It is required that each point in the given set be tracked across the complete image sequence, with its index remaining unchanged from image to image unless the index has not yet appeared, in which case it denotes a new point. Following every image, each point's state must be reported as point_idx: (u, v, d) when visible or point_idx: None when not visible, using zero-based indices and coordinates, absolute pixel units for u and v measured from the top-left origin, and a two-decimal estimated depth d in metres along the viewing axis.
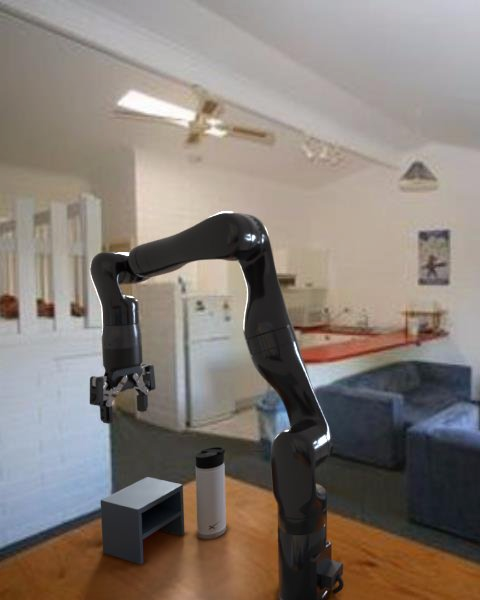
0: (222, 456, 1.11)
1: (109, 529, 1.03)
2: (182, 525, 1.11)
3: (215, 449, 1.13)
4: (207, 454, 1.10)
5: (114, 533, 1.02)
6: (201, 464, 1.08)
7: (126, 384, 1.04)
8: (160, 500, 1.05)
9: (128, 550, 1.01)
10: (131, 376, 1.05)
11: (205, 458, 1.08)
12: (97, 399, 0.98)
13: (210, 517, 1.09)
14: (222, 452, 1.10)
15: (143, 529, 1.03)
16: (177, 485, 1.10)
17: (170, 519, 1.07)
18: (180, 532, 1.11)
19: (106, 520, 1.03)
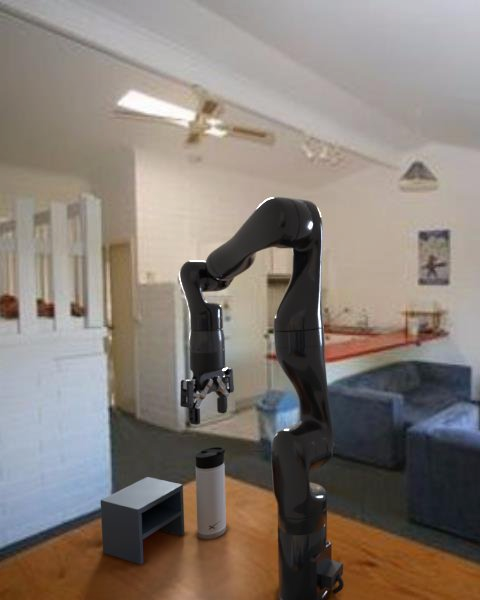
0: (222, 456, 1.11)
1: (109, 529, 1.03)
2: (182, 525, 1.11)
3: (215, 449, 1.13)
4: (207, 454, 1.10)
5: (114, 533, 1.02)
6: (201, 464, 1.08)
7: (210, 387, 1.08)
8: (160, 500, 1.05)
9: (128, 550, 1.01)
10: (215, 379, 1.09)
11: (205, 458, 1.08)
12: (188, 401, 1.02)
13: (210, 517, 1.09)
14: (222, 452, 1.10)
15: (143, 529, 1.03)
16: (177, 485, 1.10)
17: (170, 519, 1.07)
18: (180, 532, 1.11)
19: (106, 520, 1.03)
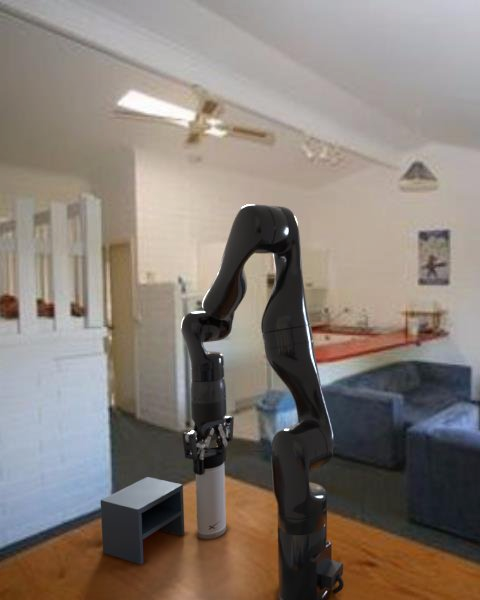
0: (222, 456, 1.11)
1: (109, 529, 1.03)
2: (182, 525, 1.11)
3: (215, 449, 1.13)
4: (207, 454, 1.10)
5: (114, 533, 1.02)
6: None
7: (212, 435, 1.10)
8: (160, 500, 1.05)
9: (128, 550, 1.01)
10: (216, 427, 1.10)
11: (205, 458, 1.08)
12: (192, 454, 1.04)
13: (210, 517, 1.09)
14: (222, 452, 1.10)
15: (143, 529, 1.03)
16: (177, 485, 1.10)
17: (170, 519, 1.07)
18: (180, 532, 1.11)
19: (106, 520, 1.03)
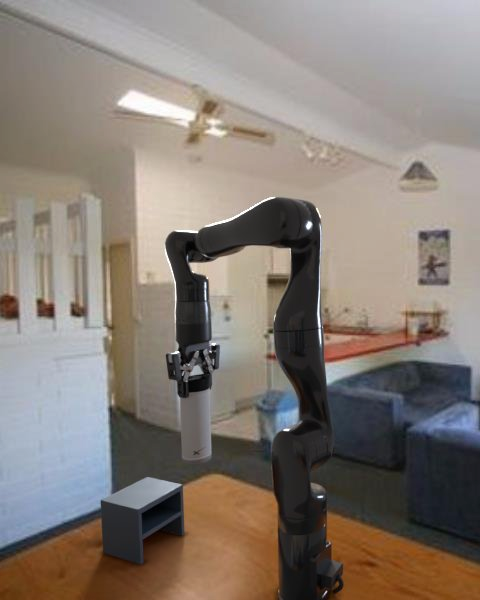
0: (207, 381, 1.08)
1: (109, 529, 1.03)
2: (182, 525, 1.11)
3: (200, 376, 1.11)
4: (192, 379, 1.08)
5: (114, 533, 1.02)
6: None
7: (197, 359, 1.07)
8: (160, 500, 1.05)
9: (128, 550, 1.01)
10: (201, 351, 1.08)
11: (189, 381, 1.05)
12: (175, 374, 1.02)
13: (194, 442, 1.07)
14: (207, 377, 1.07)
15: (143, 529, 1.03)
16: (177, 485, 1.10)
17: (170, 519, 1.07)
18: (180, 532, 1.11)
19: (106, 520, 1.03)
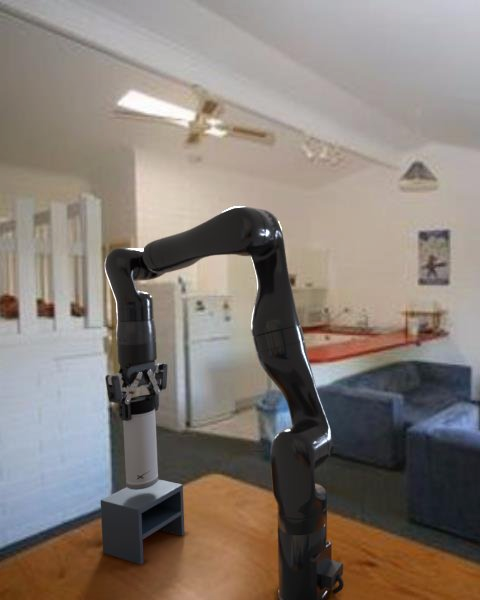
0: (152, 403, 1.05)
1: (109, 529, 1.03)
2: (182, 525, 1.11)
3: (146, 396, 1.07)
4: (135, 400, 1.04)
5: (114, 533, 1.02)
6: None
7: (140, 380, 1.04)
8: (160, 500, 1.05)
9: (128, 550, 1.01)
10: (145, 372, 1.05)
11: (132, 403, 1.02)
12: (116, 397, 0.98)
13: (138, 466, 1.03)
14: (151, 398, 1.04)
15: (143, 529, 1.03)
16: (177, 485, 1.10)
17: (170, 519, 1.07)
18: (180, 532, 1.11)
19: (106, 520, 1.03)
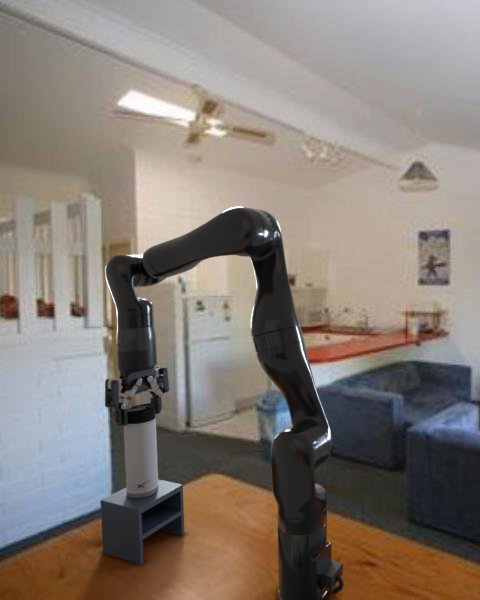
0: (152, 412, 1.05)
1: (109, 529, 1.03)
2: (182, 525, 1.11)
3: (146, 405, 1.07)
4: (136, 409, 1.05)
5: (114, 533, 1.02)
6: (128, 419, 1.02)
7: (140, 386, 1.04)
8: (160, 500, 1.05)
9: (128, 550, 1.01)
10: (145, 378, 1.05)
11: (132, 412, 1.02)
12: (112, 402, 0.98)
13: (138, 475, 1.03)
14: (152, 407, 1.04)
15: (143, 529, 1.03)
16: (177, 485, 1.10)
17: (170, 519, 1.07)
18: (180, 532, 1.11)
19: (106, 520, 1.03)
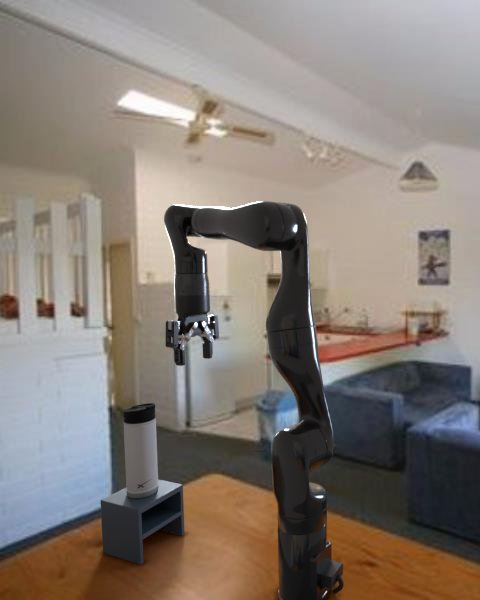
0: (152, 412, 1.05)
1: (109, 529, 1.03)
2: (182, 525, 1.11)
3: (146, 405, 1.07)
4: (136, 409, 1.05)
5: (114, 533, 1.02)
6: (128, 418, 1.02)
7: (195, 330, 1.11)
8: (160, 500, 1.05)
9: (128, 550, 1.01)
10: (200, 323, 1.12)
11: (132, 412, 1.02)
12: (173, 341, 1.05)
13: (138, 475, 1.03)
14: (152, 407, 1.04)
15: (143, 529, 1.03)
16: (177, 485, 1.10)
17: (170, 519, 1.07)
18: (180, 532, 1.11)
19: (106, 520, 1.03)
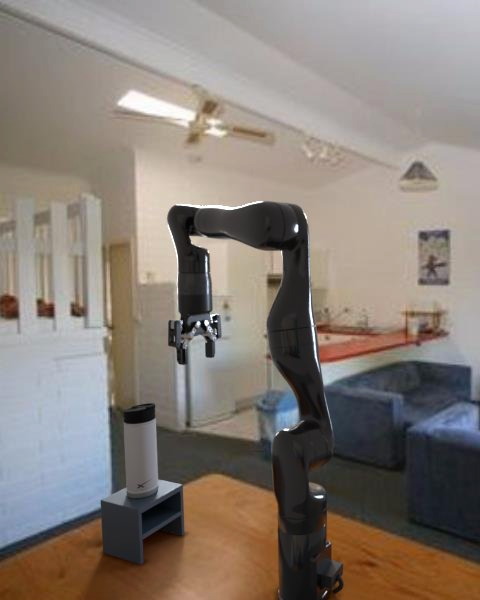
0: (152, 412, 1.05)
1: (109, 529, 1.03)
2: (182, 525, 1.11)
3: (146, 405, 1.07)
4: (136, 409, 1.05)
5: (114, 533, 1.02)
6: (128, 418, 1.02)
7: (198, 329, 1.11)
8: (160, 500, 1.05)
9: (128, 550, 1.01)
10: (203, 322, 1.12)
11: (132, 412, 1.02)
12: (175, 340, 1.05)
13: (138, 475, 1.03)
14: (152, 407, 1.04)
15: (143, 529, 1.03)
16: (177, 485, 1.10)
17: (170, 519, 1.07)
18: (180, 532, 1.11)
19: (106, 520, 1.03)
